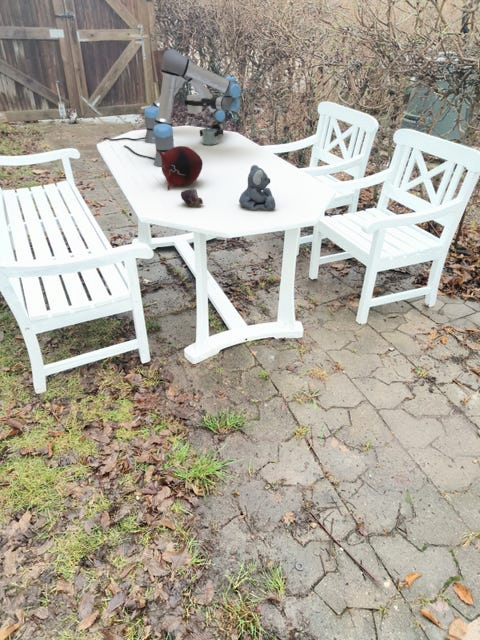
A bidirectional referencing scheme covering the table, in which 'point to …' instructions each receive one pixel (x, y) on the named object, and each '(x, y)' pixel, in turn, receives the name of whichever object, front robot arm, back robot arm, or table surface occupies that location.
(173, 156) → the dark red pot
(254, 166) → the koala plush
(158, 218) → the table surface
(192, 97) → the grey paneled bucket
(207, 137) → the tub
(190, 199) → the rock
